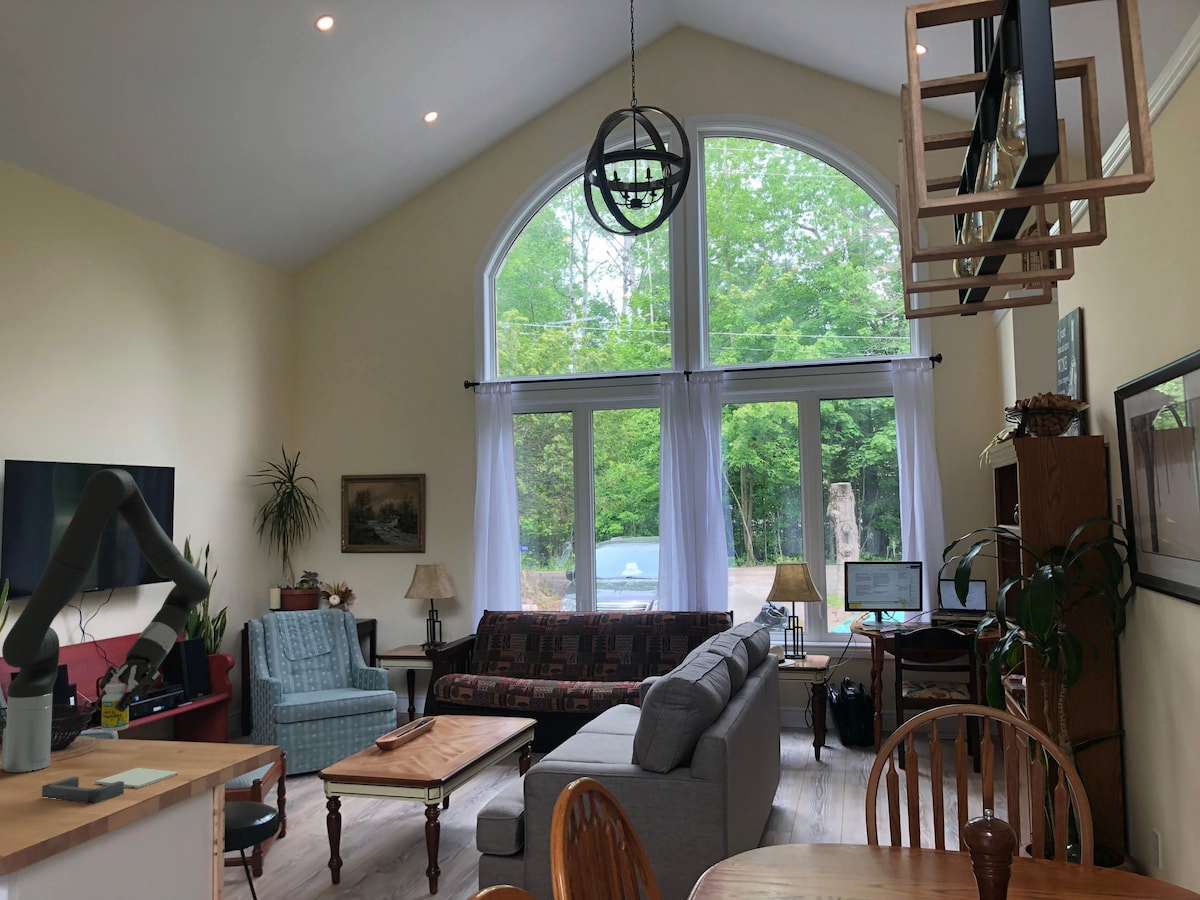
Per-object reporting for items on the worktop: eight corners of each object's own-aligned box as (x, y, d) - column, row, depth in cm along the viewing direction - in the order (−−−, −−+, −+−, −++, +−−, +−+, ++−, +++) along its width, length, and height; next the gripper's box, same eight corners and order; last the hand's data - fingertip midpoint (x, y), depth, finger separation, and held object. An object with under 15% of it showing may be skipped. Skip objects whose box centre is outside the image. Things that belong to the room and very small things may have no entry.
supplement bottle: (131, 725, 209) (132, 682, 210) (124, 730, 204) (125, 686, 205) (105, 727, 208) (106, 683, 209) (97, 732, 203) (98, 687, 204)
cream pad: (95, 784, 207) (95, 781, 208) (137, 770, 219) (137, 767, 219) (138, 788, 204) (138, 785, 204) (178, 774, 215) (178, 771, 215)
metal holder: (41, 798, 197) (42, 786, 197) (73, 788, 204) (73, 776, 205) (93, 804, 193) (94, 791, 193) (123, 793, 200) (123, 781, 200)
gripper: (119, 635, 217) (73, 697, 205) (168, 637, 212) (124, 700, 200) (137, 655, 222) (93, 717, 209) (185, 657, 217) (143, 720, 205)
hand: (108, 708), depth 205 cm, fingers closed on supplement bottle, 5 cm apart
